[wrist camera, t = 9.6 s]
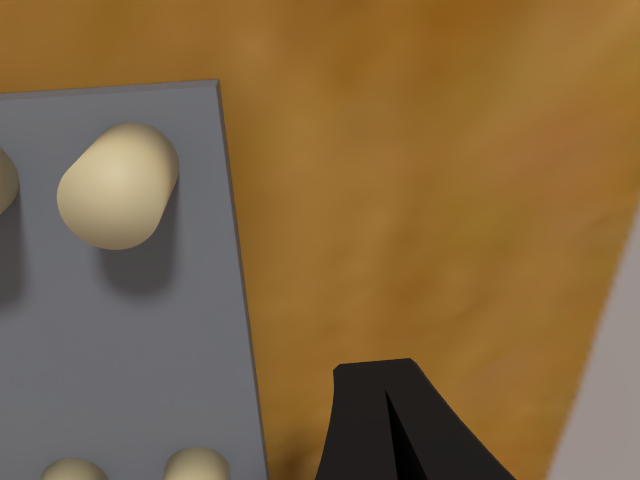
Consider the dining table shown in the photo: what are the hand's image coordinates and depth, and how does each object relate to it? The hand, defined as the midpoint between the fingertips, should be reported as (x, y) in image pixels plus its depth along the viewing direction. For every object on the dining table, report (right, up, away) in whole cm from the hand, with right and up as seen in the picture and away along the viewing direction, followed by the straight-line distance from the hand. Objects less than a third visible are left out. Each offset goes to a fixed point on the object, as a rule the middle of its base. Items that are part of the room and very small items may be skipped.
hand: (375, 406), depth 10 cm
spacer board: (-14, -1, +10) cm, 17 cm away
